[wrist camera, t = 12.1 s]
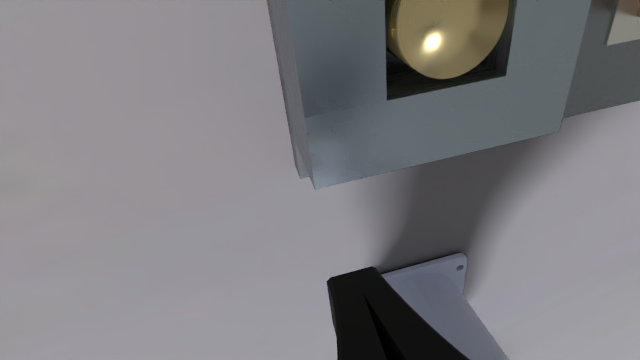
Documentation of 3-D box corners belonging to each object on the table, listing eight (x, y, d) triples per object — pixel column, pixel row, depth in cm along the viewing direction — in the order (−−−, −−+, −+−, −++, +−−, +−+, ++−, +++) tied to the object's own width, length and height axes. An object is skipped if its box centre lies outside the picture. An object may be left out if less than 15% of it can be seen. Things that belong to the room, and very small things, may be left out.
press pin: (449, 45, 16) (499, 67, 13) (365, 61, 15) (400, 88, 13) (456, -59, 14) (517, -57, 11) (360, -44, 13) (399, -38, 11)
